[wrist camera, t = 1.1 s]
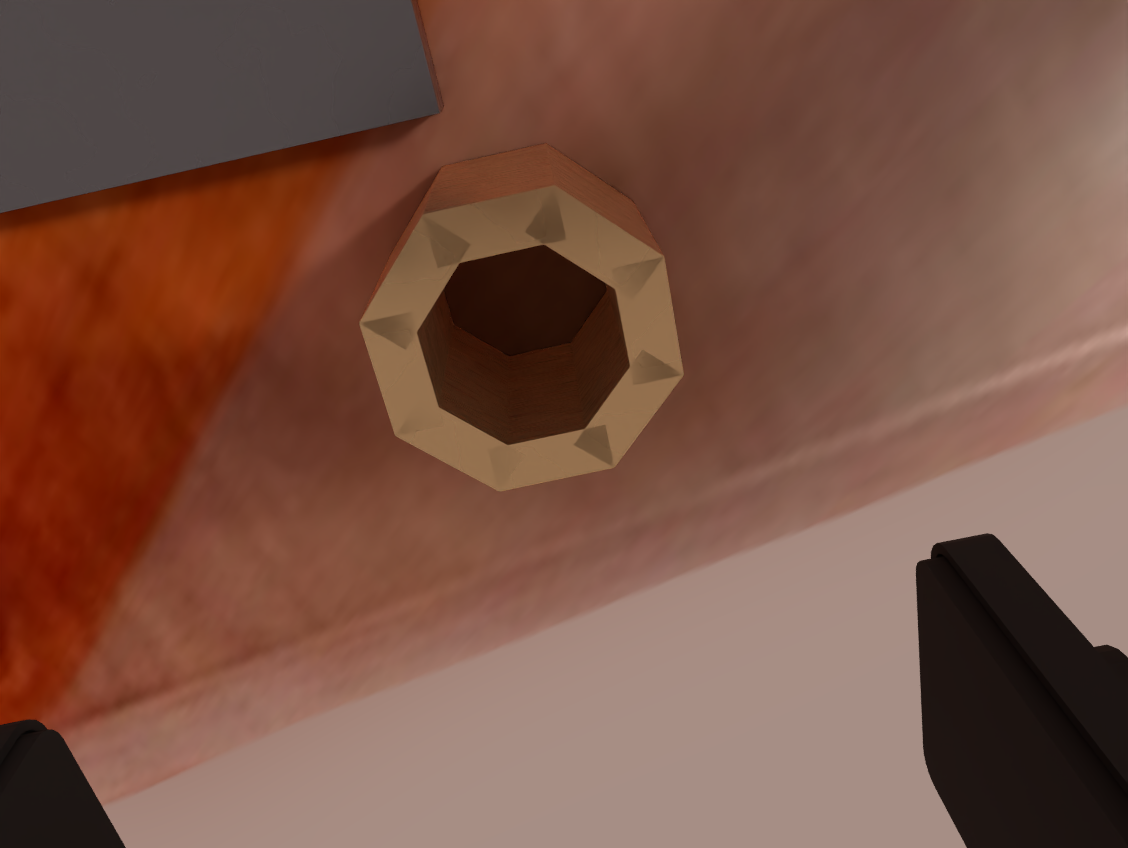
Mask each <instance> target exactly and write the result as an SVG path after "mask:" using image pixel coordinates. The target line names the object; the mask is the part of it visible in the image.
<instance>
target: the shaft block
mask: <svg viewBox="0 0 1128 848" xmlns="http://www.w3.org/2000/svg"><path fill="white" fill-rule="evenodd" d="M443 107H444V105H443V101H442V97H441V93H440V89H439V85H438V81H437V77H436V73H435V69H434V65H433V61H432V57H431V53H430V49H429V45H428V41H427V37H426V34H425V30H424V26H423V22H422V18H421V14H420V10H419V6H418V2H417V0H0V213H2V212H7V211H11V210H15V209H20V208H24V207H29V206H33V205H37V204H42V203H46V202H51V201H55V200H59V199H64V198H68V197H73V196H77V195H81V194H86V193H90V192H95V191H99V190H103V189H108V188H112V187H117V186H121V185H125V184H130V183H134V182H139V181H143V180H147V179H152V178H156V177H161V176H165V175H169V174H174V173H178V172H183V171H187V170H191V169H196V168H200V167H205V166H209V165H213V164H218V163H222V162H227V161H231V160H235V159H240V158H244V157H249V156H253V155H257V154H262V153H266V152H271V151H275V150H279V149H284V148H288V147H293V146H297V145H301V144H306V143H310V142H315V141H319V140H323V139H328V138H332V137H337V136H341V135H345V134H350V133H354V132H359V131H363V130H367V129H372V128H376V127H381V126H385V125H389V124H394V123H398V122H403V121H407V120H411V119H416V118H420V117H425V116H429V115H433V114H438V113H440V112H441V110H442V109H443Z"/></svg>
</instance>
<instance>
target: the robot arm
mask: <svg viewBox="0 0 1128 848" xmlns="http://www.w3.org/2000/svg"><path fill="white" fill-rule="evenodd" d="M916 586H917V610H918V633H919V658H920V682H921V705H922V730H923V749H924V756H925V761H926V765H927V768H928V772H929V774H930V777H931V780H932V782H933V784H934V786H935V788H936V790H937V792H938V794H939V796H940V798H941V799H942V801H943V803H944V805H945V807H946V809H947V811H948V813H949V815H950V817H951V819H952V820H953V822H954V824H955V826H956V828H957V830H958V832H959V833H960V835H961V837H962V839H963V841H964V843H965V845H966V847H967V848H1128V657H1127V656H1126V655H1124V654H1123V653H1122V652H1121V651H1120V650H1119V649H1117V648H1114V647H1112V646H1109V645H1103V646H1097V647H1093V646H1092V644H1091V643H1090V642H1089V641H1088V640H1087V639H1086V638H1085V637H1084V635H1083V634H1082V633H1081V632H1080V631H1079V630H1078V629H1077V627H1076V626H1075V625H1074V624H1073V623H1072V622H1071V621H1070V620H1069V618H1068V617H1067V616H1066V615H1065V614H1064V613H1063V612H1062V611H1061V609H1059V607H1058V606H1057V605H1056V604H1055V603H1054V601H1053V600H1052V599H1051V598H1050V597H1049V596H1048V595H1047V594H1046V592H1045V591H1044V590H1043V589H1042V588H1041V587H1040V586H1039V585H1038V583H1037V582H1036V581H1035V580H1034V579H1033V578H1032V577H1031V576H1030V575H1029V573H1028V572H1027V571H1026V570H1025V569H1024V568H1023V566H1022V565H1021V564H1020V563H1019V562H1018V561H1017V560H1016V559H1015V557H1014V556H1013V555H1012V554H1011V553H1010V552H1009V551H1008V549H1007V548H1006V547H1005V546H1004V545H1003V544H1002V543H1001V542H1000V540H998V539H997V538H996V537H995V536H994V535H992V534H982V535H977V536H971V537H966V538H961V539H956V540H951V541H946V542H941V543H936V544H935V545H934V546H933V548H932V551H931V559H927V560H922V561H919V562H918V563H917V566H916ZM0 848H126V847H125V846H124V844H123V842H122V841H121V839H120V837H119V835H118V833H117V832H116V830H115V828H114V826H113V825H112V823H111V822H110V819H109V818H108V816H107V814H106V813H105V811H104V809H103V807H102V805H101V804H100V802H99V800H98V798H97V797H96V795H95V793H94V792H93V790H92V788H91V786H90V785H89V783H88V781H87V779H86V778H85V776H84V774H83V772H82V771H81V769H80V767H79V765H78V764H77V762H76V760H75V758H74V757H73V755H72V753H71V751H70V750H69V748H68V746H67V744H66V743H65V741H64V739H63V738H62V736H61V735H60V734H59V733H58V732H56V731H55V730H47V728H46V727H45V726H44V725H43V724H42V723H40V722H39V721H37V720H23V721H18V722H13V723H8V724H3V725H0Z"/></svg>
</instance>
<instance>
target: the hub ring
mask: <svg viewBox="0 0 1128 848" xmlns="http://www.w3.org/2000/svg"><path fill="white" fill-rule="evenodd" d="M543 244H544V245H546V246H547V247H549V248H551V249H552V250H554V251H555V252H557V253H558V254H560V255H562V256H563V257H565V258H566V259H568V260H570V261H571V262H573V263H574V264H576V265H578V266H579V267H581V268H582V269H584V270H586V271H587V272H589V273H590V274H592V275H593V276H595V277H597V278H598V279H600V280H601V281H603V282H605V284H606V289H607V291H606V293H605V294H604V296H603V297H602V298H601V300H600V301H599V303H598V304H597V306H596V307H595V309H594V310H593V312H592V313H591V314H590V316H589V317H588V319H587V320H586V322H585V323H584V325H583V326H582V328H581V329H580V330H579V332H578V333H577V335H576V336H575V338H574V339H573V341H572V342H571V343H568V344H563V345H559V346H554V347H549V348H545V349H540V350H535V351H531V352H526V353H521V354H517V355H512V356H508V355H506V354H504V353H502V352H501V351H499V350H497V349H496V348H494V347H492V346H490V345H489V344H487V343H485V342H484V341H482V340H480V339H478V338H477V337H475V336H473V335H472V334H470V333H468V332H466V331H465V330H463V329H461V328H460V327H458V326H456V325H454V324H453V320H452V317H451V313H450V309H449V306H448V302H447V298H446V295H445V291H444V287H445V286H446V284H447V282H448V281H449V279H450V277H451V276H452V274H453V273H454V271H455V269H456V268H457V266H458V264H459V263H462V262H466V261H471V260H475V259H480V258H484V257H489V256H493V255H498V254H502V253H507V252H512V251H516V250H521V249H525V248H530V247H534V246H539V245H543ZM359 325H360V328H361V331H362V334H363V337H364V341H365V344H366V347H367V350H368V353H369V356H370V359H371V362H372V365H373V369H374V372H375V375H376V378H377V381H378V384H379V387H380V390H381V393H382V397H383V400H384V403H385V406H386V409H387V412H388V415H389V418H390V421H391V424H392V428H393V431H394V434H395V436H396V437H398V438H400V439H402V440H403V441H405V442H407V443H409V444H411V445H413V446H415V447H416V448H418V449H420V450H422V451H424V452H426V453H428V454H430V455H431V456H433V457H435V458H437V459H439V460H441V461H443V462H444V463H446V464H448V465H450V466H452V467H454V468H456V469H458V470H459V471H461V472H463V473H465V474H467V475H469V476H471V477H472V478H474V479H476V480H478V481H480V482H482V483H484V484H486V485H487V486H489V487H491V488H493V489H495V490H497V491H499V492H501V491H505V490H510V489H515V488H520V487H525V486H529V485H534V484H539V483H544V482H549V481H553V480H558V479H563V478H568V477H573V476H577V475H582V474H587V473H592V472H597V471H601V470H606V469H611V468H615V466H616V465H617V464H618V462H619V461H620V460H621V458H622V457H623V456H624V454H625V453H626V452H627V450H628V449H629V448H630V446H631V445H632V444H633V442H634V441H635V440H636V438H637V437H638V436H639V434H640V433H641V432H642V430H643V429H644V428H645V426H646V425H647V424H648V422H649V421H650V420H651V418H652V417H653V416H654V414H655V413H656V412H657V410H658V409H659V408H660V406H661V405H662V403H663V402H664V401H665V399H666V398H667V397H668V395H669V394H670V393H671V391H672V390H673V389H674V387H675V386H676V385H677V383H678V382H679V381H680V379H681V378H682V377H683V375H684V372H683V366H682V360H681V354H680V348H679V342H678V336H677V330H676V324H675V318H674V312H673V306H672V300H671V294H670V288H669V282H668V276H667V270H666V264H665V258H664V255H663V253H662V252H661V250H660V248H659V246H658V245H657V243H656V241H655V239H654V237H653V236H652V234H651V232H650V230H649V229H648V227H647V225H646V223H645V221H644V220H643V218H642V216H641V214H640V213H639V211H638V209H637V207H636V205H635V204H634V202H633V201H632V200H631V199H629V198H628V197H626V196H625V195H623V194H622V193H620V192H619V191H617V190H616V189H614V188H613V187H611V186H610V185H608V184H607V183H605V182H604V181H602V180H601V179H599V178H598V177H596V176H595V175H593V174H592V173H590V172H589V171H587V170H586V169H584V168H583V167H581V166H580V165H578V164H577V163H575V162H574V161H572V160H571V159H569V158H568V157H566V156H565V155H563V154H562V153H560V152H559V151H557V150H556V149H554V148H553V147H551V146H550V145H548V144H547V143H543V144H539V145H534V146H530V147H525V148H521V149H517V150H512V151H508V152H503V153H499V154H494V155H490V156H485V157H481V158H477V159H472V160H468V161H463V162H459V163H454V164H450V165H445V166H442V167H441V169H440V171H439V172H438V174H437V176H436V178H435V179H434V181H433V183H432V184H431V186H430V188H429V190H428V191H427V193H426V195H425V196H424V198H423V200H422V202H421V203H420V205H419V207H418V208H417V210H416V212H415V214H414V215H413V217H412V219H411V220H410V222H409V224H408V226H407V227H406V229H405V231H404V232H403V234H402V236H401V238H400V239H399V241H398V243H397V244H396V246H395V248H394V250H393V251H392V253H391V255H390V257H389V259H388V261H387V263H386V266H385V268H384V270H383V272H382V274H381V276H380V279H379V281H378V283H377V285H376V287H375V289H374V292H373V294H372V296H371V298H370V300H369V302H368V305H367V307H366V309H365V311H364V313H363V315H362V318H361V320H360V322H359Z"/></svg>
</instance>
